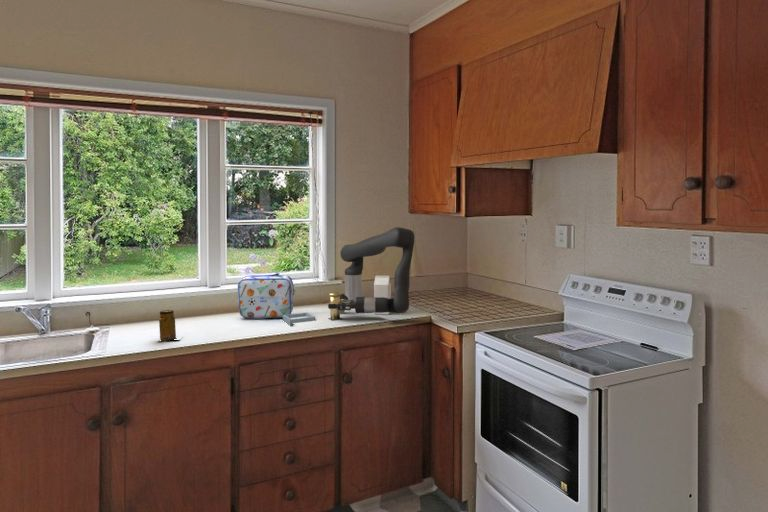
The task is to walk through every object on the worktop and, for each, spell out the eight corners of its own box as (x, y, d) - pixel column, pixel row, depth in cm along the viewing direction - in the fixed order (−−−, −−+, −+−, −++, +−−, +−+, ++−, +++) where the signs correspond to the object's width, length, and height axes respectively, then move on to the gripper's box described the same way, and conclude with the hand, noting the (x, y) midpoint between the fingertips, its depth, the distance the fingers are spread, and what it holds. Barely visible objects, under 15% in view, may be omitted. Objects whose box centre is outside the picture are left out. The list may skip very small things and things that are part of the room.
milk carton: (388, 315, 258) (387, 276, 256) (374, 314, 259) (373, 276, 257) (391, 312, 265) (390, 274, 263) (377, 311, 266) (376, 274, 264)
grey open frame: (282, 321, 247) (282, 315, 246) (307, 318, 252) (307, 312, 252) (290, 326, 236) (289, 319, 236) (315, 323, 241) (315, 316, 241)
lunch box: (297, 314, 262) (296, 270, 260) (295, 319, 251) (294, 273, 249) (241, 316, 260) (239, 272, 258) (237, 320, 250) (235, 274, 248)
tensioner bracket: (317, 317, 253) (317, 294, 252) (344, 314, 259) (344, 292, 258) (331, 325, 237) (330, 300, 236) (359, 321, 243) (359, 297, 242)
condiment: (161, 338, 218) (159, 309, 216) (182, 337, 219) (181, 308, 218) (157, 342, 210) (155, 313, 209) (179, 341, 212) (177, 312, 211)
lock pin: (328, 318, 244) (327, 292, 243) (338, 317, 247) (337, 292, 246) (332, 320, 240) (331, 294, 239) (342, 319, 242) (342, 293, 241)
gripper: (367, 294, 248) (331, 294, 250) (364, 299, 234) (326, 299, 235) (367, 309, 249) (332, 310, 250) (364, 316, 235) (327, 316, 236)
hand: (329, 305), depth 243 cm, fingers open, 5 cm apart
